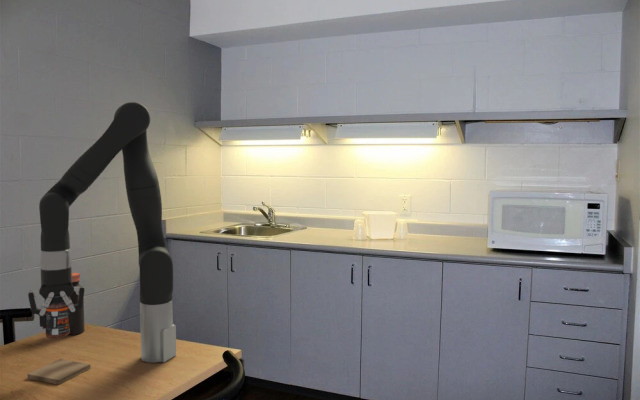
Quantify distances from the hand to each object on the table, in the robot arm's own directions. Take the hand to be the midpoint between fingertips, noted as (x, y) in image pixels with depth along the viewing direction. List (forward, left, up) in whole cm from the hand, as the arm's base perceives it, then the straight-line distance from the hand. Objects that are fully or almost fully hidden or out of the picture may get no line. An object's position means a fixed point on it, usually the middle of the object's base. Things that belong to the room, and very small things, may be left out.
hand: (58, 325), depth 142 cm
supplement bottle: (0, 0, -3) cm, 3 cm away
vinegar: (+22, -27, -14) cm, 37 cm away
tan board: (0, 0, -13) cm, 13 cm away
